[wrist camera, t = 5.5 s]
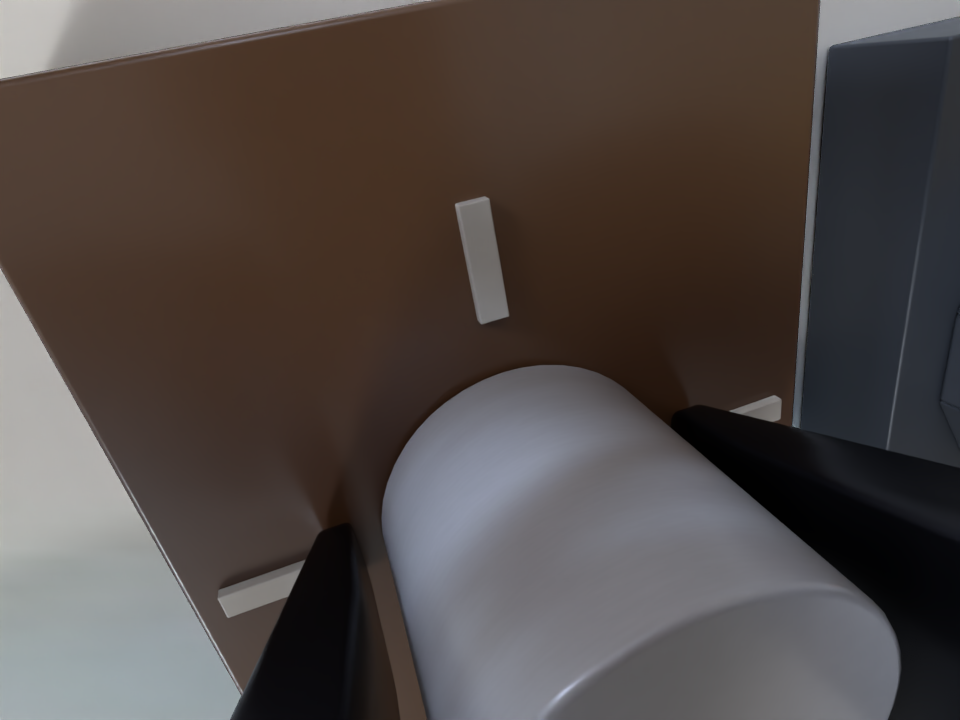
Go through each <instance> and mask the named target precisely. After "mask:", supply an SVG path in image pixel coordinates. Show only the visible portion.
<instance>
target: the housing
mask: <svg viewBox="0 0 960 720" xmlns="http://www.w3.org/2000/svg"><path fill="white" fill-rule="evenodd" d="M801 429H803V430H807V431H811V432H816V433H820V434H824V435H828V436H832V437H836V438H840V439H844V440H848V441H852V442H856V443H860V444H865V445H869V446H873V447H877V448H881V449H885V450H889V451H893V452H897V453H901V454H905V455H909V456H914V457H918V458H922V459H926V460H930V461H934V462H938V463H942V464H946V465H950V466H954V467H958V468H960V17H955V18H951V19H947V20H942V21H938V22H933V23H929V24H925V25H920V26H916V27H911V28H907V29H902V30H898V31H894V32H889V33H885V34H880V35H876V36H872V37H867V38H863V39H858V40H854V41H850V42H845V43H841V44H836V45H833V46H831V47H830V48H829V54H828V67H827V81H826V94H825V108H824V121H823V135H822V148H821V161H820V175H819V188H818V202H817V215H816V229H815V242H814V256H813V269H812V282H811V296H810V309H809V323H808V336H807V350H806V363H805V376H804V390H803V403H802V417H801Z"/></svg>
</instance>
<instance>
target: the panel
mask: <svg viewBox="0 0 960 720" xmlns="http://www.w3.org/2000/svg"><path fill="white" fill-rule="evenodd" d="M819 13H820V0H431V1H425V2H420V3H414V4H409V5H403V6H398V7H392V8H387V9H381V10H376V11H371V12H365V13H360V14H354V15H349V16H343V17H338V18H332V19H327V20H321V21H316V22H310V23H305V24H299V25H294V26H288V27H283V28H277V29H272V30H266V31H261V32H255V33H250V34H244V35H239V36H233V37H228V38H222V39H217V40H212V41H206V42H201V43H195V44H190V45H184V46H179V47H173V48H168V49H162V50H157V51H151V52H146V53H140V54H135V55H129V56H124V57H118V58H113V59H107V60H102V61H96V62H91V63H85V64H80V65H74V66H69V67H63V68H58V69H53V70H47V71H42V72H36V73H31V74H25V75H20V76H14V77H9V78H3V79H0V268H1V270H2V272H3V274H4V275H5V277H6V279H7V281H8V282H9V284H10V286H11V288H12V289H13V291H14V293H15V295H16V297H17V298H18V300H19V302H20V304H21V305H22V307H23V309H24V311H25V313H26V314H27V316H28V318H29V320H30V321H31V323H32V325H33V327H34V328H35V330H36V332H37V334H38V336H39V337H40V339H41V341H42V343H43V344H44V346H45V348H46V350H47V352H48V353H49V355H50V357H51V359H52V360H53V362H54V364H55V366H56V368H57V369H58V371H59V373H60V375H61V376H62V378H63V380H64V382H65V383H66V385H67V387H68V389H69V391H70V392H71V394H72V396H73V398H74V399H75V401H76V403H77V405H78V407H79V408H80V410H81V412H82V414H83V415H84V417H85V419H86V421H87V422H88V424H89V426H90V428H91V430H92V431H93V433H94V435H95V437H96V438H97V440H98V442H99V444H100V446H101V447H102V449H103V451H104V453H105V454H106V456H107V458H108V460H109V462H110V463H111V465H112V467H113V469H114V470H115V472H116V474H117V476H118V477H119V479H120V481H121V483H122V485H123V486H124V488H125V490H126V492H127V493H128V495H129V497H130V499H131V501H132V502H133V504H134V506H135V508H136V509H137V511H138V513H139V515H140V516H141V518H142V520H143V522H144V524H145V525H146V527H147V529H148V531H149V532H150V534H151V536H152V538H153V540H154V541H155V543H156V545H157V547H158V548H159V550H160V552H161V554H162V556H163V557H164V559H165V561H166V563H167V564H168V566H169V568H170V570H171V571H172V573H173V575H174V577H175V579H176V580H177V582H178V584H179V586H180V587H181V589H182V591H183V593H184V595H185V596H186V598H187V600H188V602H189V603H190V605H191V607H192V609H193V610H194V612H195V614H196V616H197V618H198V619H199V621H200V623H201V625H202V626H203V628H204V630H205V632H206V634H207V635H208V637H209V639H210V641H211V642H212V644H213V646H214V648H215V650H216V651H217V653H218V655H219V657H220V658H221V660H222V662H223V664H224V665H225V667H226V669H227V671H228V673H229V674H230V676H231V678H232V680H233V681H234V683H235V685H236V687H237V689H238V690H239V692H240V694H241V696H242V694H243V691H244V689H245V687H246V685H247V683H248V681H249V679H250V677H251V675H252V672H253V670H254V668H255V666H256V664H257V662H258V660H259V658H260V655H261V653H262V651H263V649H264V647H265V645H266V643H267V641H268V638H269V636H270V634H271V632H272V630H273V628H274V626H275V624H276V621H277V619H278V617H279V615H280V613H281V611H282V609H283V607H284V604H285V602H286V600H287V598H288V596H289V594H290V592H291V590H292V587H293V585H294V583H295V581H296V579H297V577H298V575H299V573H300V570H301V568H302V566H303V564H304V562H305V560H306V558H307V556H308V553H309V551H310V549H311V547H312V545H313V543H314V541H315V539H316V536H317V535H318V533H319V532H320V531H322V530H324V529H327V528H330V527H333V526H336V525H339V524H342V523H346V522H347V523H350V524H351V525H352V527H353V529H354V531H355V534H356V537H357V540H358V543H359V546H360V549H361V552H362V554H363V557H364V560H365V563H366V566H367V569H368V572H369V576H370V579H371V583H372V587H373V592H374V596H375V600H376V604H377V608H378V613H379V617H380V621H381V625H382V630H383V634H384V638H385V642H386V646H387V651H388V655H389V659H390V663H391V668H392V672H393V677H394V681H395V686H396V691H397V698H398V705H399V712H400V720H427V717H426V713H425V709H424V705H423V701H422V697H421V692H420V688H419V684H418V680H417V676H416V672H415V667H414V663H413V659H412V655H411V651H410V647H409V642H408V638H407V634H406V630H405V626H404V622H403V617H402V613H401V609H400V605H399V601H398V597H397V592H396V588H395V584H394V580H393V576H392V572H391V567H390V563H389V559H388V555H387V551H386V547H385V542H384V538H383V533H382V519H381V517H382V505H383V498H384V494H385V490H386V486H387V482H388V480H389V477H390V475H391V472H392V470H393V467H394V465H395V463H396V461H397V459H398V457H399V456H400V454H401V452H402V450H403V448H404V447H405V445H406V444H407V442H408V441H409V440H410V438H411V437H412V436H413V434H414V433H415V432H416V430H417V429H418V428H419V427H420V426H421V425H422V424H423V423H424V422H425V421H426V419H427V418H428V417H429V416H430V415H431V414H432V413H434V412H435V411H436V410H437V409H438V408H440V407H441V406H442V405H443V404H444V403H445V402H447V401H448V400H449V399H451V398H452V397H454V396H455V395H457V394H458V393H460V392H461V391H463V390H464V389H466V388H468V387H470V386H472V385H474V384H476V383H478V382H480V381H482V380H484V379H486V378H489V377H492V376H494V375H497V374H500V373H502V372H506V371H510V370H514V369H518V368H522V367H530V366H538V365H565V366H572V367H579V368H583V369H587V370H590V371H593V372H597V373H599V374H601V375H603V376H605V377H607V378H610V379H612V380H613V381H615V382H616V383H618V384H619V385H620V386H622V387H623V388H625V389H626V390H627V391H628V392H629V393H631V394H632V395H633V396H634V397H635V398H636V399H638V400H639V401H640V402H641V403H642V404H644V405H645V406H646V407H647V408H648V409H649V410H651V411H652V412H653V413H654V414H655V415H656V416H658V417H659V418H660V419H661V420H662V421H663V422H665V423H666V424H667V425H668V426H669V427H670V428H671V418H672V416H673V414H674V413H675V412H676V411H679V410H682V409H685V408H688V407H691V406H694V405H700V404H701V405H706V406H710V407H714V408H718V409H722V410H726V411H730V412H734V413H738V414H742V415H746V416H750V417H754V418H758V419H763V420H767V421H771V422H775V423H779V424H783V425H787V426H791V427H792V419H793V404H794V389H795V374H796V359H797V343H798V328H799V313H800V298H801V283H802V268H803V253H804V238H805V223H806V208H807V193H808V178H809V163H810V148H811V133H812V118H813V103H814V88H815V73H816V58H817V43H818V28H819Z"/></svg>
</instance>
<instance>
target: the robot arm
mask: <svg viewBox="0 0 960 720" xmlns="http://www.w3.org/2000/svg"><path fill="white" fill-rule="evenodd" d="M671 428H672V429H673V430H674V431H675V432H676V433H677V434H679V435H680V436H681V437H682V438H683V439H684V440H686V441H687V442H688V443H689V444H690V445H691V446H693V447H694V448H695V449H696V450H697V451H698V452H700V453H701V454H702V455H703V456H704V457H705V458H707V459H708V460H709V461H710V462H711V463H712V464H714V465H715V466H716V467H717V468H718V469H720V470H721V471H722V472H723V473H724V474H725V475H727V476H728V477H729V478H730V479H731V480H732V481H734V482H735V483H736V484H737V485H738V486H739V487H741V488H742V489H743V490H744V491H745V492H746V493H748V494H749V495H750V496H751V497H752V498H753V499H755V500H756V501H757V502H758V503H759V504H760V505H762V506H763V507H764V508H765V509H766V510H767V511H769V512H770V513H771V514H772V515H773V516H774V517H776V518H777V519H778V520H779V521H780V522H781V523H783V524H784V525H785V526H786V527H787V528H789V529H790V530H791V531H792V532H793V533H794V534H796V535H797V536H798V537H799V538H800V539H801V540H803V541H804V542H805V543H806V544H807V545H808V546H810V547H811V548H812V549H813V550H814V551H815V552H817V553H818V554H819V555H820V556H821V557H822V558H824V559H825V560H826V561H827V562H828V563H829V564H831V565H832V566H833V567H834V568H835V569H836V570H838V571H839V572H840V573H841V574H842V575H843V576H845V577H846V578H847V579H848V580H849V581H850V582H852V583H853V584H854V585H855V586H856V587H857V588H859V589H860V590H861V591H862V592H863V593H865V594H866V595H867V596H868V597H869V598H870V599H872V600H873V601H874V603H875V604H876V605H877V606H878V607H879V608H880V609H881V610H882V611H883V612H884V613H885V615H886V617H887V619H888V621H889V622H890V624H891V626H892V628H893V630H894V631H895V633H896V636H897V639H898V643H899V647H900V651H901V675H900V683H899V688H898V692H897V695H896V699H895V703H894V706H893V708H892V711H891V713H890V716H889V718H888V720H960V468H958V467H954V466H950V465H946V464H942V463H938V462H934V461H930V460H926V459H922V458H918V457H914V456H909V455H905V454H901V453H897V452H893V451H889V450H885V449H881V448H877V447H873V446H869V445H865V444H860V443H856V442H852V441H848V440H844V439H840V438H836V437H832V436H828V435H824V434H820V433H816V432H811V431H807V430H803V429H799V428H795V427H791V426H787V425H783V424H779V423H775V422H771V421H767V420H763V419H758V418H754V417H750V416H746V415H742V414H738V413H734V412H730V411H726V410H722V409H718V408H714V407H710V406H706V405H701V404H700V405H694V406H691V407H688V408H685V409H682V410H679V411H676V412H675V413H674V414H673V416H672V418H671ZM230 720H400V712H399V705H398V698H397V691H396V686H395V681H394V677H393V672H392V668H391V663H390V659H389V655H388V651H387V646H386V642H385V638H384V634H383V630H382V625H381V621H380V617H379V613H378V608H377V604H376V600H375V596H374V592H373V587H372V583H371V579H370V576H369V572H368V569H367V566H366V563H365V560H364V557H363V554H362V552H361V549H360V546H359V543H358V540H357V537H356V534H355V531H354V529H353V527H352V525H351V524H350V523H347V522H346V523H342V524H339V525H336V526H333V527H330V528H327V529H324V530H322V531H320V532H319V533H318V535H317V536H316V539H315V541H314V543H313V545H312V547H311V549H310V551H309V553H308V556H307V558H306V560H305V562H304V564H303V566H302V568H301V570H300V573H299V575H298V577H297V579H296V581H295V583H294V585H293V587H292V590H291V592H290V594H289V596H288V598H287V600H286V602H285V604H284V607H283V609H282V611H281V613H280V615H279V617H278V619H277V621H276V624H275V626H274V628H273V630H272V632H271V634H270V636H269V638H268V641H267V643H266V645H265V647H264V649H263V651H262V653H261V655H260V658H259V660H258V662H257V664H256V666H255V668H254V670H253V672H252V675H251V677H250V679H249V681H248V683H247V685H246V687H245V689H244V691H243V694H242V696H241V698H240V700H239V702H238V704H237V706H236V708H235V711H234V713H233V715H232V717H231V719H230Z"/></svg>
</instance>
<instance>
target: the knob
mask: <svg viewBox="0 0 960 720" xmlns="http://www.w3.org/2000/svg"><path fill="white" fill-rule="evenodd" d="M381 519H382V533H383V538H384V542H385V547H386V551H387V555H388V559H389V563H390V567H391V572H392V576H393V580H394V584H395V588H396V592H397V597H398V601H399V605H400V609H401V613H402V617H403V622H404V626H405V630H406V634H407V638H408V642H409V647H410V651H411V655H412V659H413V663H414V667H415V672H416V676H417V680H418V684H419V688H420V692H421V697H422V701H423V705H424V709H425V713H426V717H427V720H888V718H889V716H890V713H891V711H892V708H893V706H894V703H895V699H896V695H897V692H898V688H899V683H900V675H901V651H900V647H899V643H898V639H897V636H896V633H895V631H894V630H893V628H892V626H891V624H890V622H889V621H888V619H887V617H886V615H885V613H884V612H883V611H882V610H881V609H880V608H879V607H878V606H877V605H876V604H875V603H874V601H873V600H872V599H870V598H869V597H868V596H867V595H866V594H865V593H863V592H862V591H861V590H860V589H859V588H857V587H856V586H855V585H854V584H853V583H852V582H850V581H849V580H848V579H847V578H846V577H845V576H843V575H842V574H841V573H840V572H839V571H838V570H836V569H835V568H834V567H833V566H832V565H831V564H829V563H828V562H827V561H826V560H825V559H824V558H822V557H821V556H820V555H819V554H818V553H817V552H815V551H814V550H813V549H812V548H811V547H810V546H808V545H807V544H806V543H805V542H804V541H803V540H801V539H800V538H799V537H798V536H797V535H796V534H794V533H793V532H792V531H791V530H790V529H789V528H787V527H786V526H785V525H784V524H783V523H781V522H780V521H779V520H778V519H777V518H776V517H774V516H773V515H772V514H771V513H770V512H769V511H767V510H766V509H765V508H764V507H763V506H762V505H760V504H759V503H758V502H757V501H756V500H755V499H753V498H752V497H751V496H750V495H749V494H748V493H746V492H745V491H744V490H743V489H742V488H741V487H739V486H738V485H737V484H736V483H735V482H734V481H732V480H731V479H730V478H729V477H728V476H727V475H725V474H724V473H723V472H722V471H721V470H720V469H718V468H717V467H716V466H715V465H714V464H712V463H711V462H710V461H709V460H708V459H707V458H705V457H704V456H703V455H702V454H701V453H700V452H698V451H697V450H696V449H695V448H694V447H693V446H691V445H690V444H689V443H688V442H687V441H686V440H684V439H683V438H682V437H681V436H680V435H679V434H677V433H676V432H675V431H674V430H673V429H672V428H670V427H669V426H668V425H667V424H666V423H665V422H663V421H662V420H661V419H660V418H659V417H658V416H656V415H655V414H654V413H653V412H652V411H651V410H649V409H648V408H647V407H646V406H645V405H644V404H642V403H641V402H640V401H639V400H638V399H636V398H635V397H634V396H633V395H632V394H631V393H629V392H628V391H627V390H626V389H625V388H623V387H622V386H620V385H619V384H618V383H616V382H615V381H613V380H612V379H610V378H607V377H605V376H603V375H601V374H599V373H597V372H593V371H590V370H587V369H583V368H579V367H572V366H565V365H538V366H530V367H522V368H518V369H514V370H510V371H506V372H502V373H500V374H497V375H494V376H492V377H489V378H486V379H484V380H482V381H480V382H478V383H476V384H474V385H472V386H470V387H468V388H466V389H464V390H463V391H461V392H460V393H458V394H457V395H455V396H454V397H452V398H451V399H449V400H448V401H447V402H445V403H444V404H443V405H442V406H441V407H440V408H438V409H437V410H436V411H435V412H434V413H432V414H431V415H430V416H429V417H428V418H427V419H426V421H425V422H424V423H423V424H422V425H421V426H420V427H419V428H418V429H417V430H416V432H415V433H414V434H413V436H412V437H411V438H410V440H409V441H408V442H407V444H406V445H405V447H404V448H403V450H402V452H401V454H400V456H399V457H398V459H397V461H396V463H395V465H394V467H393V470H392V472H391V475H390V477H389V480H388V482H387V486H386V490H385V494H384V498H383V505H382V517H381Z"/></svg>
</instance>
